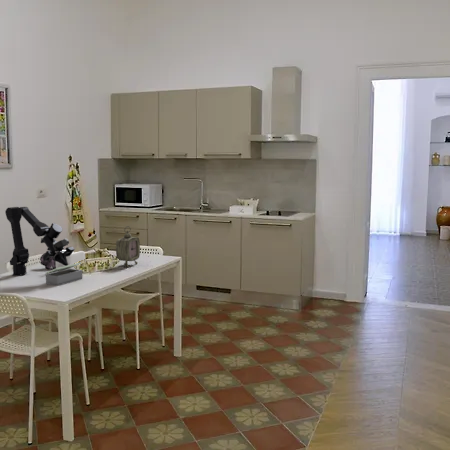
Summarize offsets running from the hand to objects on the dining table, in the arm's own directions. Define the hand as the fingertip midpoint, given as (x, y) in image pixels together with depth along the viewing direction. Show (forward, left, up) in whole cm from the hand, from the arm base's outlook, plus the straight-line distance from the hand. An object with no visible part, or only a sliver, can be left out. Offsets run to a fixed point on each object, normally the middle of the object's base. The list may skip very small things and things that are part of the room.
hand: (67, 265), depth 294 cm
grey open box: (-2, +1, -9) cm, 10 cm away
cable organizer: (-4, +29, -9) cm, 31 cm away
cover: (-2, +1, -2) cm, 3 cm away
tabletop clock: (+29, +42, -9) cm, 52 cm away
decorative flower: (-17, +40, -9) cm, 45 cm away
